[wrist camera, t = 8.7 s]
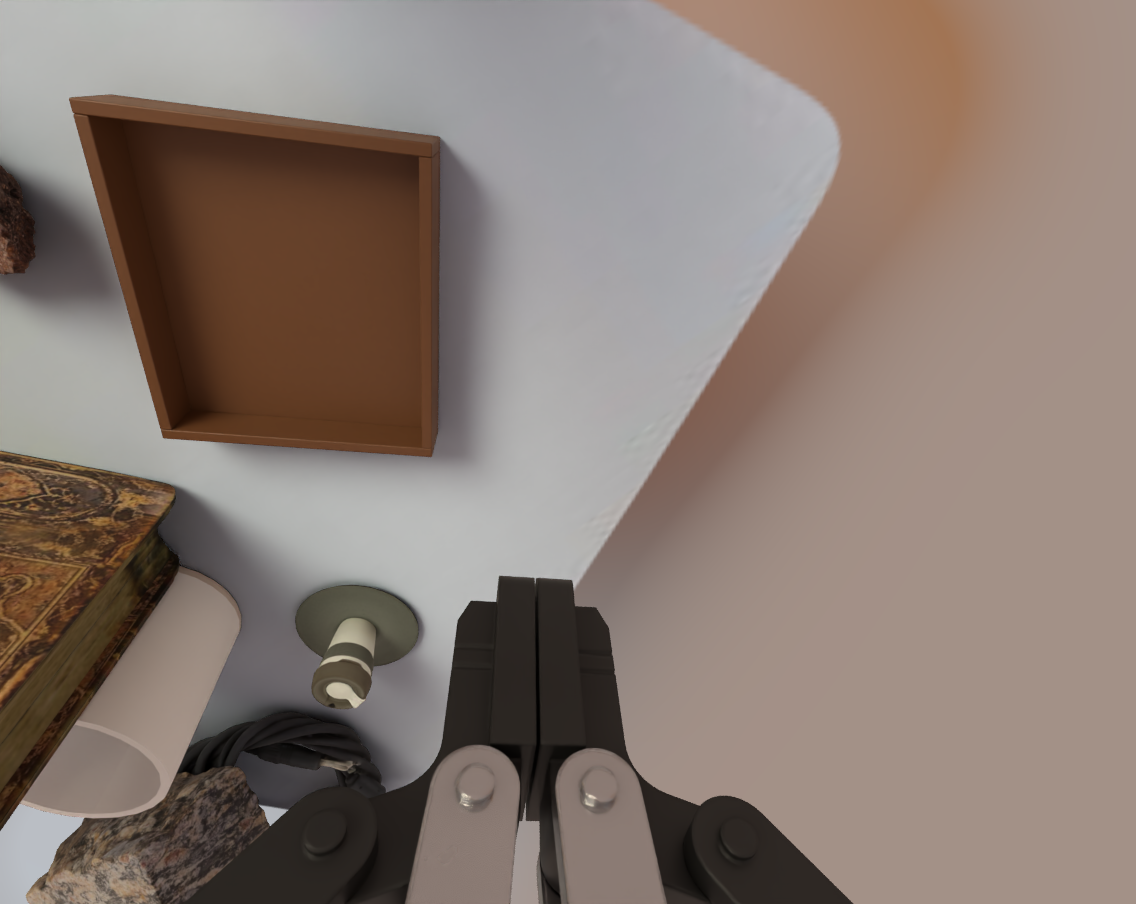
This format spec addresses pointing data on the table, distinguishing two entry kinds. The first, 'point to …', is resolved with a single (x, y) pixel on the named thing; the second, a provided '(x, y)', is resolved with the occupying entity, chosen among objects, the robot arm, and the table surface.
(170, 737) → the mug
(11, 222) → the stone
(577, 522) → the table surface
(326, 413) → the tray
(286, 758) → the cable
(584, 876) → the robot arm
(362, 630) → the olive disc with post
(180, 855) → the stone block
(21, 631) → the book
